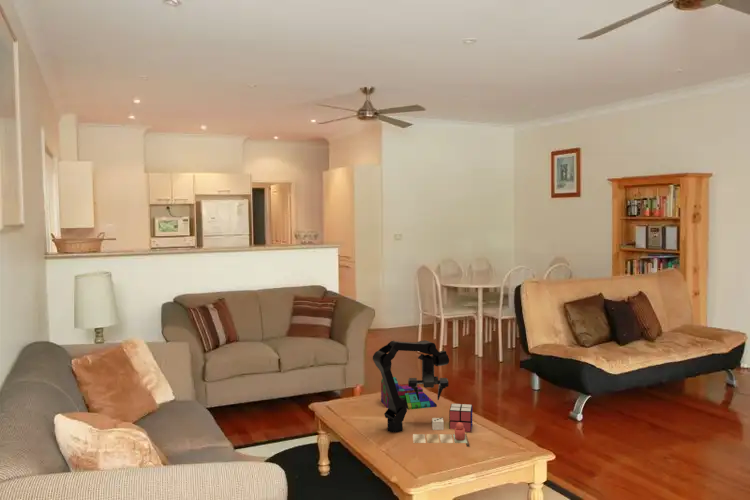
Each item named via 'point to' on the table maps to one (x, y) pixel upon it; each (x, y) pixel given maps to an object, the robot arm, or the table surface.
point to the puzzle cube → (460, 416)
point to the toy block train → (408, 396)
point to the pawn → (459, 431)
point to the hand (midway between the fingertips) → (428, 400)
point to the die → (437, 424)
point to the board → (435, 438)
